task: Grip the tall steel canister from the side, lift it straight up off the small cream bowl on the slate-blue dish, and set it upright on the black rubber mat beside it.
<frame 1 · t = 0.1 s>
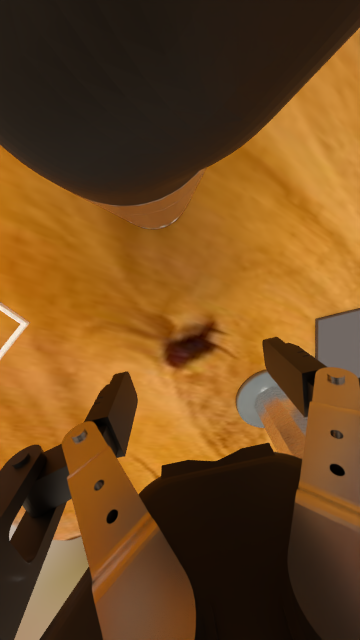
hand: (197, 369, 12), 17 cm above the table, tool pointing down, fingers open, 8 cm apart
steel canister: (272, 401, 34), point 1 cm above the table, touching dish
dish: (269, 397, 35), on the table
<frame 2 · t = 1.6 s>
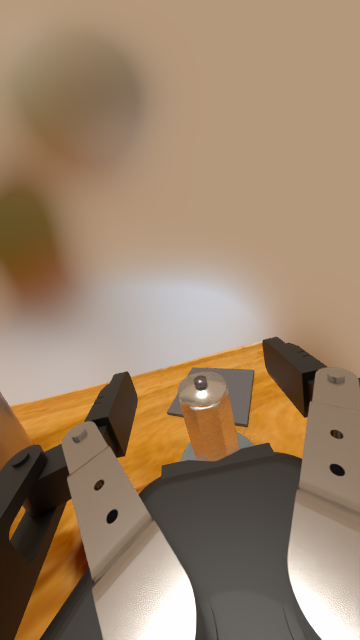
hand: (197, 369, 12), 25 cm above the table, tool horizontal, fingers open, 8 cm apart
steel canister: (219, 463, 30), point 1 cm above the table, touching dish
rubber mat: (214, 391, 46), on the table
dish: (220, 468, 30), on the table
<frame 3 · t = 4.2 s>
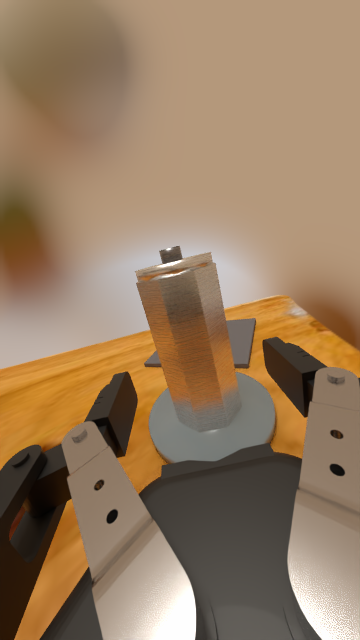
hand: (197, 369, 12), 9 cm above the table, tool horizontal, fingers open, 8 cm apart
steel canister: (207, 405, 20), point 1 cm above the table, touching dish
rubber mat: (205, 341, 36), on the table
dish: (209, 413, 20), on the table
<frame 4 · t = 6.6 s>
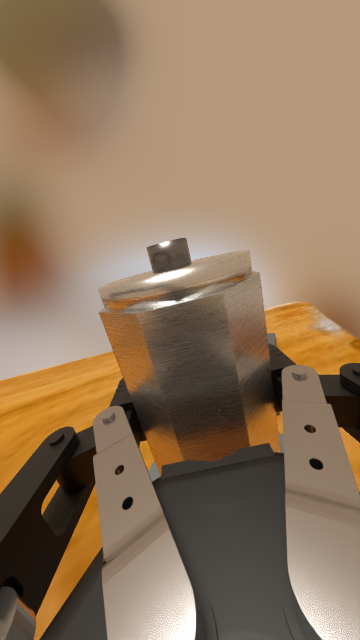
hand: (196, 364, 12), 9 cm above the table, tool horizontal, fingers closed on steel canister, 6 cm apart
steel canister: (228, 496, 12), point 1 cm above the table, touching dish, gripper
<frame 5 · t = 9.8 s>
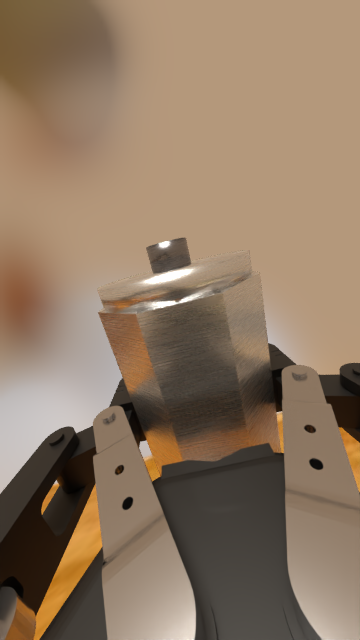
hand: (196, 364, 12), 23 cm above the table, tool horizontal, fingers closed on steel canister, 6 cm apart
steel canister: (228, 496, 12), point 15 cm above the table, touching gripper
when the fingers open (10 cm above the table, at t = 13.4 s): steel canister drops 1 cm, resting on rubber mat.
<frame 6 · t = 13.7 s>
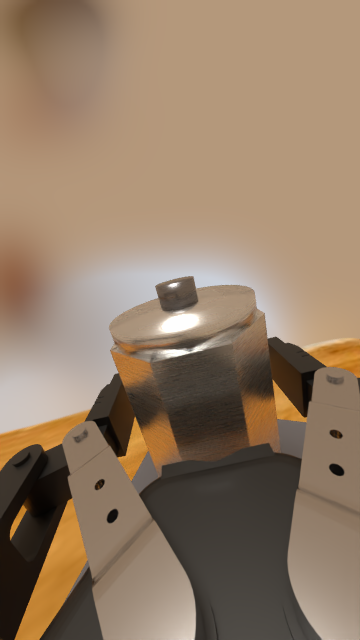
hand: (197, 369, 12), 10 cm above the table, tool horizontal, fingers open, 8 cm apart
steel canister: (232, 514, 13), point 1 cm above the table, touching rubber mat
rubber mat: (233, 518, 13), on the table
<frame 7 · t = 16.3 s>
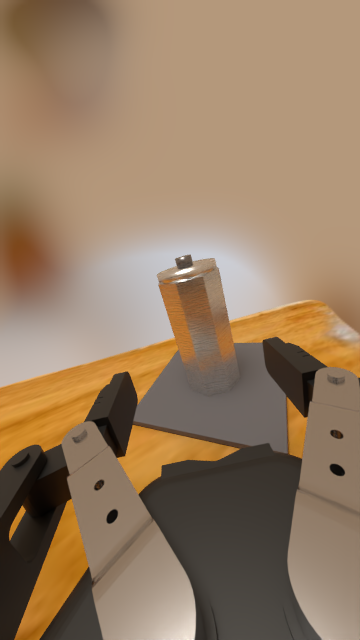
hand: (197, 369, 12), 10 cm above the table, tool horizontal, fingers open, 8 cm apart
steel canister: (213, 377, 25), point 1 cm above the table, touching rubber mat
rubber mat: (214, 380, 26), on the table
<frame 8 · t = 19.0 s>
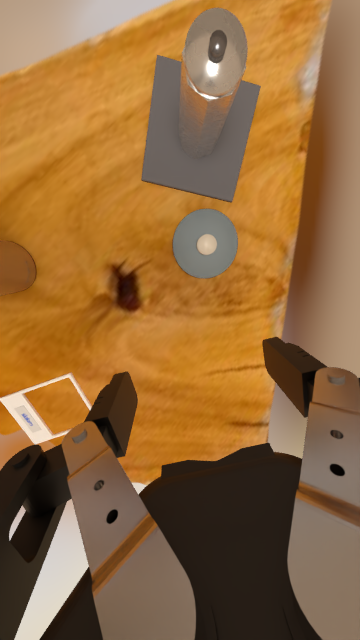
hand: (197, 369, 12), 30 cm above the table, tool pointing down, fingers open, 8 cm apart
steel canister: (198, 135, 33), point 1 cm above the table, touching rubber mat
white rectangular frame: (54, 407, 49), on the table
rubber mat: (197, 137, 33), on the table
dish: (204, 245, 38), on the table
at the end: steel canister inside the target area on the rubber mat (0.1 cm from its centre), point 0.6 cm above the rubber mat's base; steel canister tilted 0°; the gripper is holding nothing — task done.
